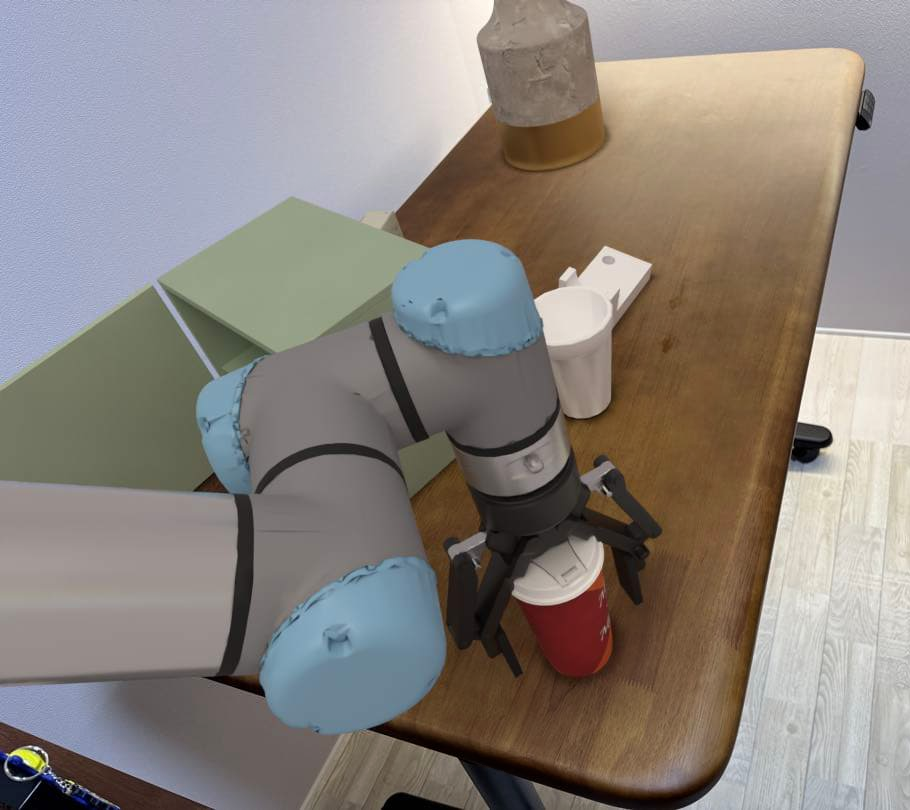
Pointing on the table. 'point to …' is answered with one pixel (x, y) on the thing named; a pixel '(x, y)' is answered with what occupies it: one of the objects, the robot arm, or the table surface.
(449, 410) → the robot arm
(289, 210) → the cupboard
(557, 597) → the coffee cup
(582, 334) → the cup
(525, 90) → the vase
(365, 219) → the cosmetic box
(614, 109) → the table surface
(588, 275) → the bracket
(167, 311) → the cupboard door
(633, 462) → the table surface
